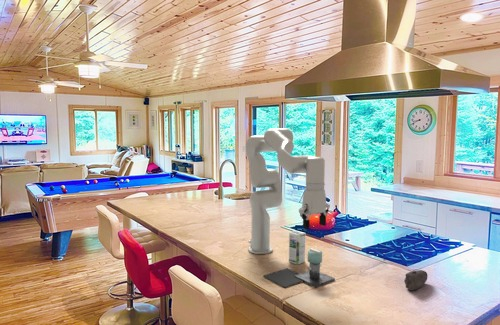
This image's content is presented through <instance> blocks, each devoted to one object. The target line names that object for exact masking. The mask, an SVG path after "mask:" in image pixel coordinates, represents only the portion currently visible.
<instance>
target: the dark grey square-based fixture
mask: <svg viewBox="0 0 500 325" xmlns="http://www.w3.org/2000/svg"><path fill="white" fill-rule="evenodd" d="M321 267H322V263H319V264H313V263H310V262H309V265H308V267H307V271H304V272H301V273H299V274H298V275H295V276H294V277H296V278H298V279H300V280H303V282H302V283H304V284H306V285H308V286H310V287H311V288H318V287H321V286H323V285H327V284H328V283H329V284H330V283H331V282H334V281H336V279H335V277H333V276H331V275H328V274H326V273H325V272H324V273H323V272H321Z"/></svg>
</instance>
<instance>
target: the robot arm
mask: <svg viewBox="0 0 500 325" xmlns="http://www.w3.org/2000/svg"><path fill="white" fill-rule="evenodd" d="M294 147H295V145H294V134H293V132H292V130H290V129H289V128H283V127H282V128H280V127H278V128H277V127H275V128H269V129H267V130H266V131H265V132H264V134H263V135H262V134H260V135H259V134H258V135H251V136H249V137H248V138H247V140H246V141H245V153H246V156H247V159H248V160H247V161H248V164H249V175H250V184H251V186H252V187H253V188H255V189H262V188H264V189H262V190H256V191H253V192H252V193H251V194H250V195H249V205H250V212H251V216H250V217H251V231H250V232H251V238H250V240H248V243H249V244H250V246H248V252H250V253H251V254H253V255H254V254H255V255H267V254H270V253H272V252H273V250H274V248H273V247H272V246H271V245H270V238H271V236H270V234H271V232H270V231H271V230H270V229H271V217H270V214H269V213H268V210H267V209H273V208H278V207H280V206H281V205H282V204H283V190H282V181H281V175H280V173H279V171H278V170H277V169H275V168H267V166H266V159H265V158H264V156H263V154H261V153H266V152H267V153H271V152H272V153H273V152H276V154H277V155H276V158H277V159H276V160H277V162H278V164H279V166H280V167H281V168H282V169H283V170H285V172H287V173H288V174H305V189H304V191H303V195H302V203H301V204H302V206H301V207H300V208H299V209H298V212H299V216H300V217H301V219H302V228H303V229H304V230H310V226H311V224H310V222H311V220H310V218H311V216H312V215H319V222H318V223H319V225H320V226H324V227H325V226H327V216H328V213H329V209H330V206H331V205H330V204H329V203H327V198H326V197H327V196H326V190H325V186H326V184H325V159H324V158H323V157H322V156H314V155H310V154H305V155H304V154H303V155H301V154H300V155H291V154H292V152H293V151H294ZM265 188H268V189H265Z"/></svg>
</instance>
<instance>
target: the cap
mask: <svg viewBox="0 0 500 325" xmlns="http://www.w3.org/2000/svg"><path fill="white" fill-rule="evenodd" d="M307 262H308V263H309V264H310V263H313V264H319V263H320V264H322V263H323V251H322V250H319V249H315V248H312V247H311V248H309V250H307Z"/></svg>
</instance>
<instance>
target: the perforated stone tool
mask: <svg viewBox="0 0 500 325" xmlns="http://www.w3.org/2000/svg"><path fill="white" fill-rule="evenodd" d="M427 280H428V272H427V271H425V270H423V269H422V270H421V269H419V270H418V269H417V270H413V271H409V272H407V273H405V278H404V281H403V282H404V285H405V288H406V289H407V290H409V291H411V292H412V291H416V290H419V289H420V288H421V287H423V286H424V285H425V283H426V282H427Z"/></svg>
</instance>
